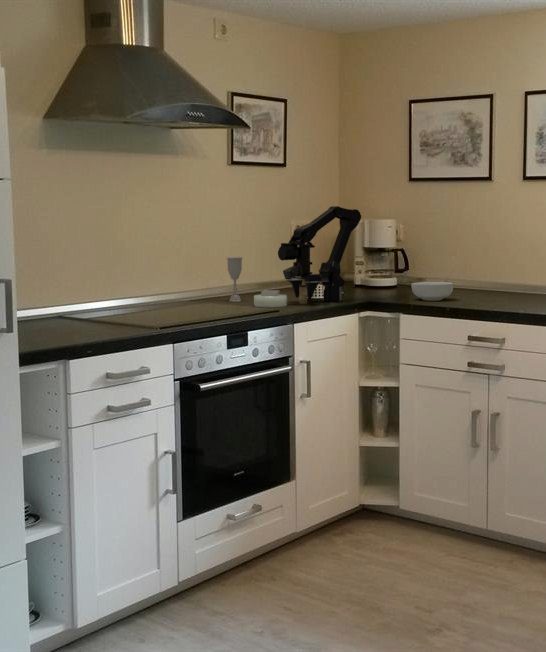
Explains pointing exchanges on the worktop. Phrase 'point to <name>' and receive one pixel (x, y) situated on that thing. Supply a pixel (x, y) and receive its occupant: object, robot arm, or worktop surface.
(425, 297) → the cereal bowl
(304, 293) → the dowel
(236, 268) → the chalice
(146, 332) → the worktop surface
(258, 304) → the disc with square recess
